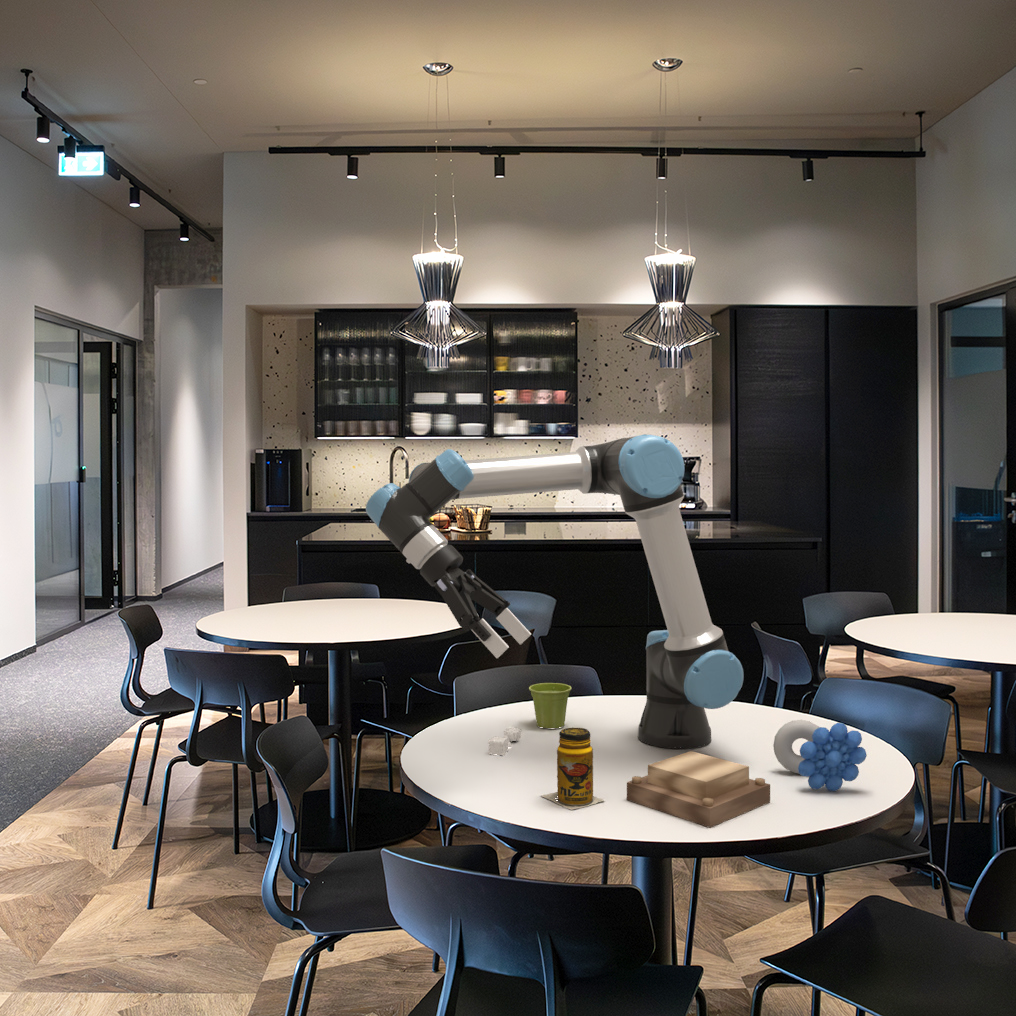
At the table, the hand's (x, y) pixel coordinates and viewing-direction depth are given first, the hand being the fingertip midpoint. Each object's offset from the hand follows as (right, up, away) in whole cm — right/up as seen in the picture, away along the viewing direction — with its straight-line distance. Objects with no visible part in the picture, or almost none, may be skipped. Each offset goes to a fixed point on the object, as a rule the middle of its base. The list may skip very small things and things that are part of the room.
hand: (515, 646), depth 158 cm
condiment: (+10, -26, -2) cm, 28 cm away
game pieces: (-2, -25, +29) cm, 38 cm away
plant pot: (+8, -25, +45) cm, 52 cm away
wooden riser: (+31, -26, -3) cm, 40 cm away
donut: (+53, -25, +11) cm, 60 cm away
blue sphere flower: (+55, -26, +2) cm, 61 cm away
